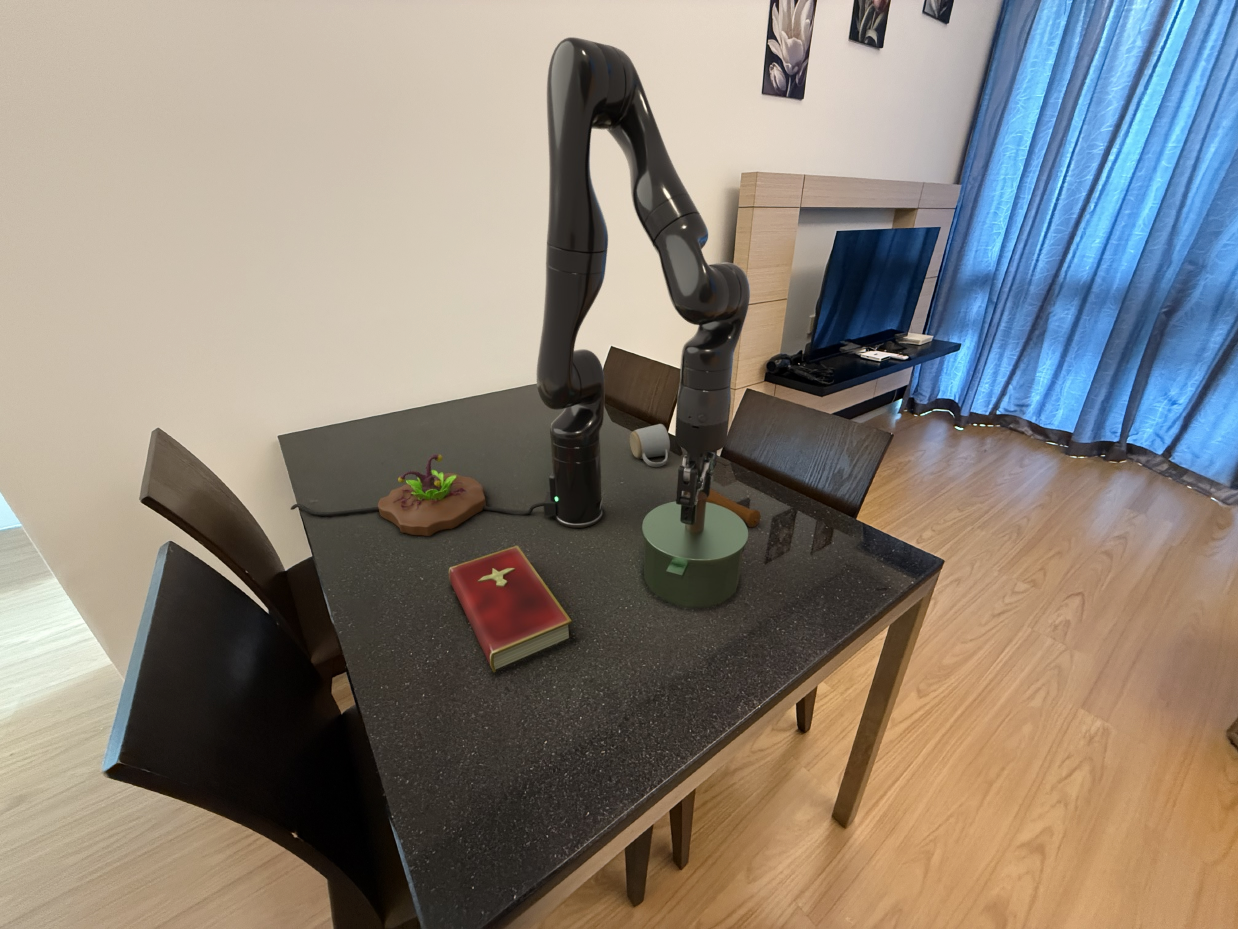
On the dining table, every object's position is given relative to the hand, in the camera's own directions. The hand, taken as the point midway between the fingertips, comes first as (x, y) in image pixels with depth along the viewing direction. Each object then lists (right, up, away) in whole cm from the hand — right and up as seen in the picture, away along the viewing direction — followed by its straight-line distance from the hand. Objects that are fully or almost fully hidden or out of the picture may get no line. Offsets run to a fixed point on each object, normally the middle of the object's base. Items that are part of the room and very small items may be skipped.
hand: (695, 509), depth 83 cm
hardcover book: (-29, -16, -1) cm, 33 cm away
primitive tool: (+8, -2, +26) cm, 28 cm away
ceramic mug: (-4, +8, +46) cm, 47 cm away
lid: (0, -4, +2) cm, 4 cm away
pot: (0, -12, +6) cm, 14 cm away
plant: (-50, -2, +27) cm, 57 cm away
